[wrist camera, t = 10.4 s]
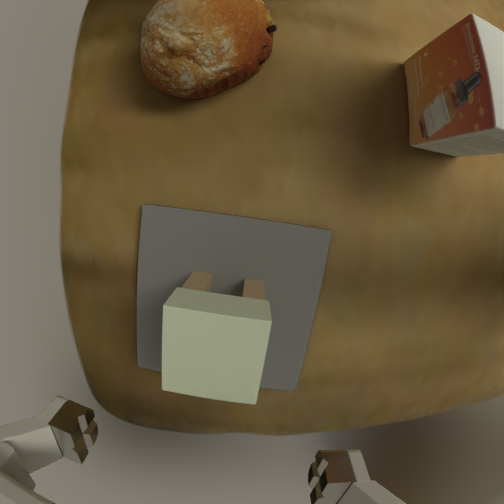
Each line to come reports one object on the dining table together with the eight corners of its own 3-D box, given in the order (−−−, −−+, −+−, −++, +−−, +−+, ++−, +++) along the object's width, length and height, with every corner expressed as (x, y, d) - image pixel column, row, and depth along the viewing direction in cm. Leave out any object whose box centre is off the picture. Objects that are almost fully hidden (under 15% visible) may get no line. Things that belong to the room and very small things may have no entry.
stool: (266, 279, 22) (272, 321, 15) (255, 344, 23) (255, 404, 16) (191, 268, 22) (163, 304, 14) (186, 334, 23) (162, 389, 16)
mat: (329, 229, 22) (331, 230, 21) (294, 386, 24) (295, 390, 24) (145, 204, 22) (142, 204, 21) (139, 363, 24) (137, 366, 24)
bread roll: (174, 31, 22) (112, 6, 15) (271, -12, 17) (224, -62, 10) (186, 118, 24) (115, 108, 17) (298, 82, 19) (251, 42, 12)
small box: (401, 61, 19) (469, 8, 9) (451, 78, 19) (524, 43, 9) (407, 148, 21) (495, 128, 10) (458, 159, 21) (545, 152, 10)
